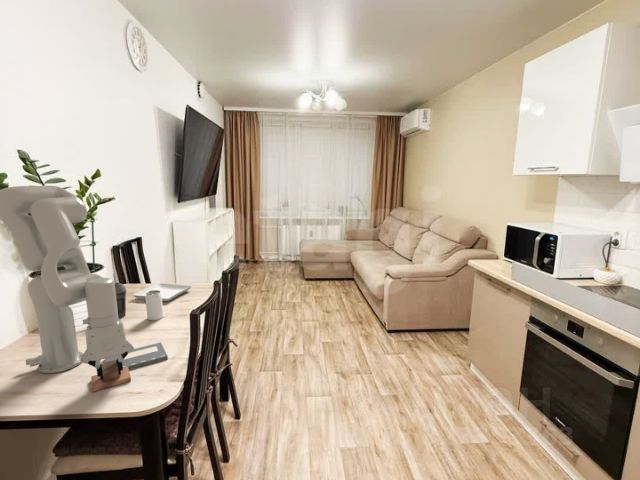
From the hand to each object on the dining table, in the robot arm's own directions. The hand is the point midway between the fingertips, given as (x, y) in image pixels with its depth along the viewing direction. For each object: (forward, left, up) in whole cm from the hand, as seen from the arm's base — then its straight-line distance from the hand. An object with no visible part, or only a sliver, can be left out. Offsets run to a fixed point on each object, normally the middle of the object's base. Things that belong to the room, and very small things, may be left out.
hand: (110, 374), depth 107 cm
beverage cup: (+7, +56, -2) cm, 57 cm away
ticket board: (+8, +10, -2) cm, 13 cm away
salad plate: (+29, +75, -3) cm, 80 cm away
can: (+20, +45, -2) cm, 49 cm away
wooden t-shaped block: (0, 0, -2) cm, 2 cm away
